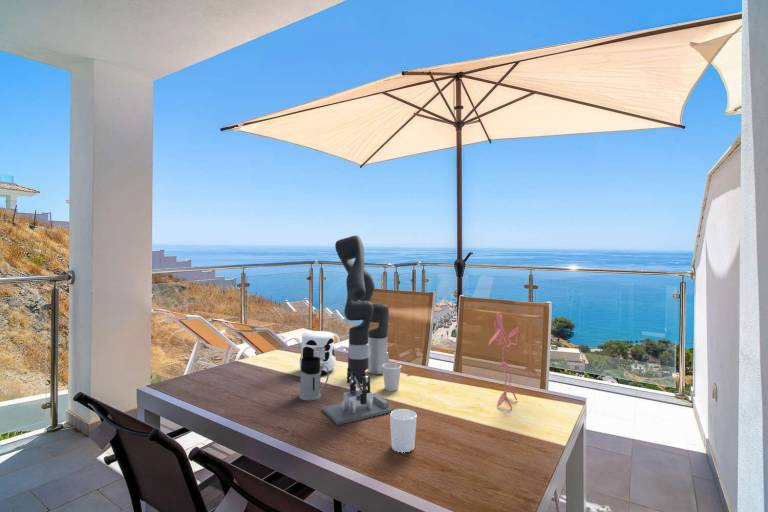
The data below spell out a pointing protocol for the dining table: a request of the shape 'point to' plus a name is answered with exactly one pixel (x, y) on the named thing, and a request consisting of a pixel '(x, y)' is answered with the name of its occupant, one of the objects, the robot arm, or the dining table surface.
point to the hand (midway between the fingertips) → (358, 400)
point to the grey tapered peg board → (343, 416)
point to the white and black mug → (311, 378)
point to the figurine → (497, 337)
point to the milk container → (319, 348)
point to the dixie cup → (391, 375)
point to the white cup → (403, 429)
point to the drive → (356, 401)
